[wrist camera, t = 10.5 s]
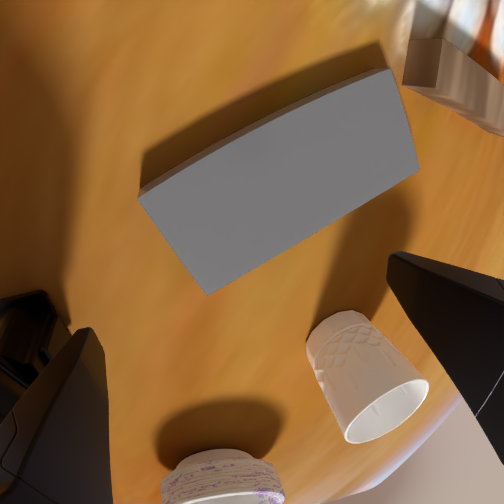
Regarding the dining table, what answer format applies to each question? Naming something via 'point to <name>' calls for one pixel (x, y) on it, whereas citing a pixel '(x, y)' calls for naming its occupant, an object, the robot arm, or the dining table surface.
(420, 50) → the walnut block
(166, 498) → the paper bowls
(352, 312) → the white cup
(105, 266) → the dining table surface
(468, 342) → the robot arm
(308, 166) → the slate board
